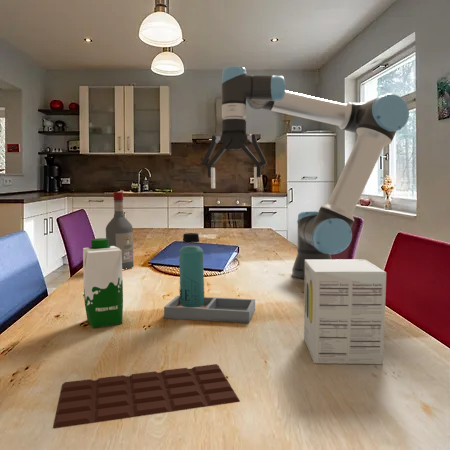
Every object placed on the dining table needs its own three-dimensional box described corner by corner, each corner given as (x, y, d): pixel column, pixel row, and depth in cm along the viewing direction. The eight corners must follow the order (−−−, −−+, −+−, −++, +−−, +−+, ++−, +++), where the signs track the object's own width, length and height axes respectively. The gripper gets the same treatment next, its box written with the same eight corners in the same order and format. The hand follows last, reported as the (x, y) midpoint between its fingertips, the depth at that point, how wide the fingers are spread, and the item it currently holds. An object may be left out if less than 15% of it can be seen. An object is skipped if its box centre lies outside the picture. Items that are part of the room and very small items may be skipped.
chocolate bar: (53, 431, 60) (52, 424, 59) (62, 387, 73) (62, 381, 72) (240, 404, 67) (240, 397, 67) (218, 367, 80) (218, 362, 80)
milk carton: (118, 314, 111) (115, 237, 109) (127, 324, 103) (124, 241, 101) (82, 319, 107) (79, 239, 105) (89, 330, 99) (86, 244, 97)
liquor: (137, 267, 173) (135, 192, 170) (120, 271, 165) (117, 192, 162) (120, 265, 178) (118, 191, 175) (103, 268, 170) (101, 192, 167)
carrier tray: (255, 309, 114) (255, 299, 114) (249, 323, 103) (249, 311, 103) (177, 305, 119) (177, 295, 118) (164, 318, 108) (163, 307, 107)
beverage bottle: (208, 307, 114) (207, 232, 112) (198, 314, 108) (198, 235, 106) (185, 305, 116) (184, 231, 114) (175, 312, 110) (173, 234, 108)
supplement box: (302, 338, 93) (303, 258, 92) (364, 339, 93) (366, 258, 91) (313, 364, 80) (314, 271, 78) (384, 365, 80) (388, 271, 78)
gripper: (191, 119, 133) (192, 188, 135) (273, 116, 128) (272, 188, 130) (198, 122, 140) (198, 188, 142) (275, 119, 135) (275, 187, 137)
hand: (234, 188), depth 136 cm, fingers open, 13 cm apart
